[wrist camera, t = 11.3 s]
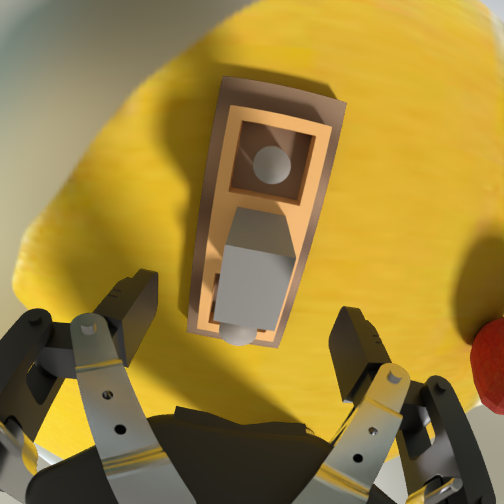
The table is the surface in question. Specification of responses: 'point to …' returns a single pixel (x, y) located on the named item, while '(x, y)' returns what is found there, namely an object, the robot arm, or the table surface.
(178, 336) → the table surface
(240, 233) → the hole bar
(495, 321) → the apple
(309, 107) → the pin board
